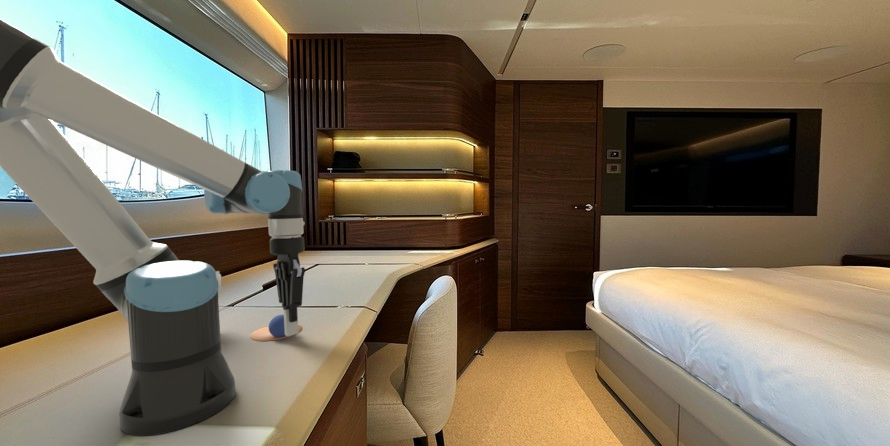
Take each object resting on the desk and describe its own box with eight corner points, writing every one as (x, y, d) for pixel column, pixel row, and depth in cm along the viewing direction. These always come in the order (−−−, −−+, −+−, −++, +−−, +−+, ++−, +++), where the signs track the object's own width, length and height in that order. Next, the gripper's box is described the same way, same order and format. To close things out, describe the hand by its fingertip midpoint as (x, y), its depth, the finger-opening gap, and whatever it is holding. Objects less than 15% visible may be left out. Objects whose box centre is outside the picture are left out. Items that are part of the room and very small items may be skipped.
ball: (286, 309, 87) (278, 310, 91) (268, 326, 84) (260, 326, 87) (300, 325, 89) (292, 325, 93) (283, 342, 85) (275, 342, 89)
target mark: (303, 335, 89) (303, 334, 89) (249, 344, 84) (249, 343, 84) (299, 321, 100) (299, 320, 100) (251, 329, 94) (251, 328, 94)
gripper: (314, 236, 82) (319, 336, 83) (291, 233, 91) (295, 323, 92) (281, 239, 76) (286, 346, 78) (260, 236, 85) (265, 331, 87)
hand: (291, 333), depth 85 cm, fingers closed
